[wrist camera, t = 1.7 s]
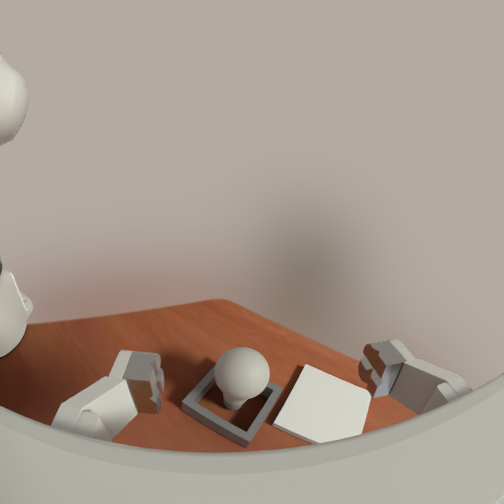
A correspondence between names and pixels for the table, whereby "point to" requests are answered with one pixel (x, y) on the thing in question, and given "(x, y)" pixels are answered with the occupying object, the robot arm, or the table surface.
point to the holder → (220, 424)
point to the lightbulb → (241, 375)
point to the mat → (323, 408)
